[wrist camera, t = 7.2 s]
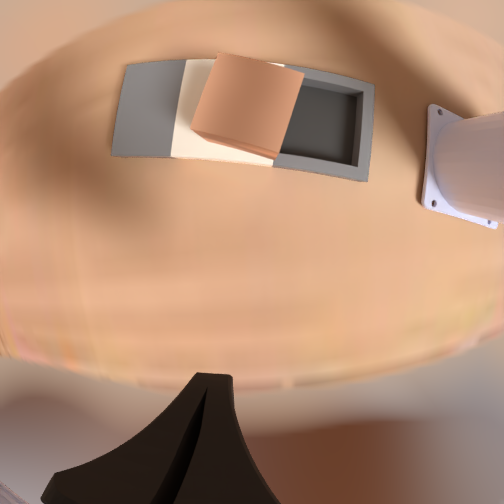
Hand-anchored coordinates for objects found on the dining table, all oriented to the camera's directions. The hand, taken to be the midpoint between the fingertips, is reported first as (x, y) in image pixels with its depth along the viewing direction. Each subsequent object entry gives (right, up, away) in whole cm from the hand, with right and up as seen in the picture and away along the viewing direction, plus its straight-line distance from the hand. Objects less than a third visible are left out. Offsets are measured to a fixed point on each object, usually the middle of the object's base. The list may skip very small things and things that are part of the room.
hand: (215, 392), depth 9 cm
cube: (+1, +13, +5) cm, 14 cm away
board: (+1, +14, +6) cm, 15 cm away
